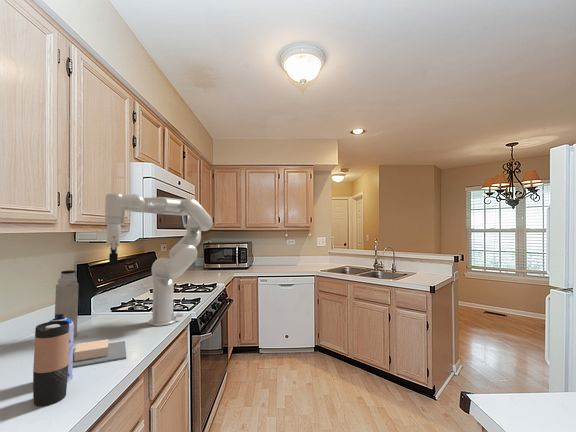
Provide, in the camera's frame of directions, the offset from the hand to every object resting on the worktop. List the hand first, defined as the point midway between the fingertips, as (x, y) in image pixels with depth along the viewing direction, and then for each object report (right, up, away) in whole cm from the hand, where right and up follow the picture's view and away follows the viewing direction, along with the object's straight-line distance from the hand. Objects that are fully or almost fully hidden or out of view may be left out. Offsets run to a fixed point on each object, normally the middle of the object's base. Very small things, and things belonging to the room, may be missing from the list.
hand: (113, 262), depth 139 cm
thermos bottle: (-17, -31, -5) cm, 36 cm away
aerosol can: (+7, -30, -43) cm, 53 cm away
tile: (+4, -28, -21) cm, 35 cm away
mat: (+6, -30, -24) cm, 39 cm away
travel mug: (+13, -29, -54) cm, 62 cm away
